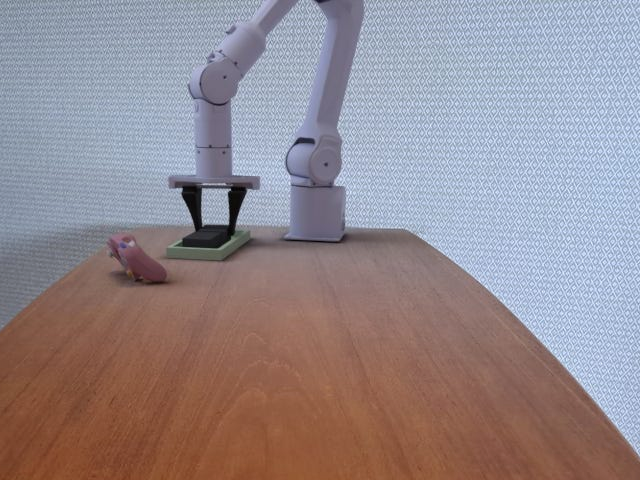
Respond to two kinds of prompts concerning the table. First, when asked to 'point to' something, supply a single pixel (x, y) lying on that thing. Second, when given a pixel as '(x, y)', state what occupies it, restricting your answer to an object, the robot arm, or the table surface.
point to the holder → (209, 253)
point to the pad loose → (218, 231)
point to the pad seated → (202, 240)
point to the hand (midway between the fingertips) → (215, 234)
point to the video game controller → (134, 258)
